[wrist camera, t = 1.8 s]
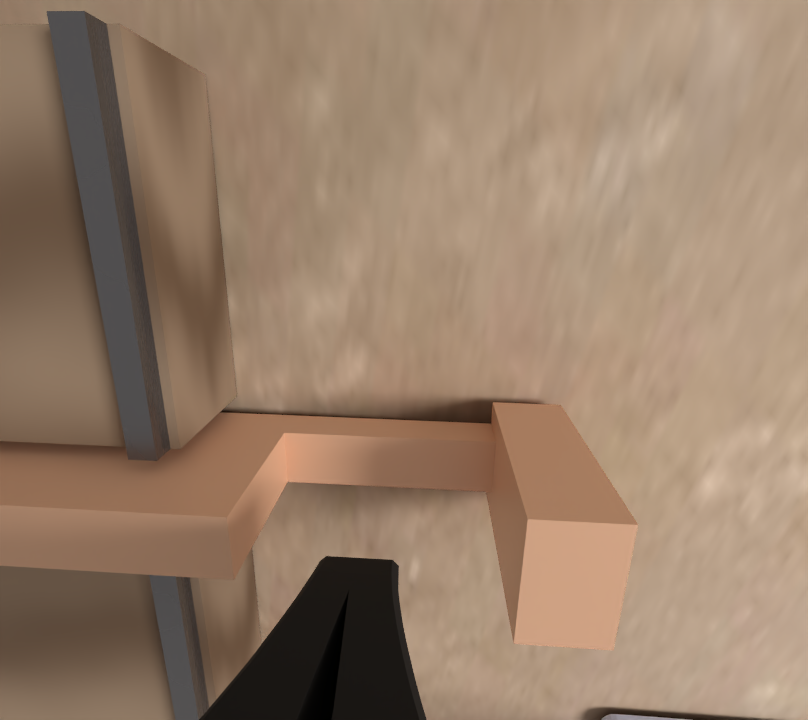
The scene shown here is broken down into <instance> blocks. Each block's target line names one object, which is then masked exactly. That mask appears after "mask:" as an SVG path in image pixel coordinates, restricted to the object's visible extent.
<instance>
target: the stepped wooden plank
mask: <svg viewBox="0 0 808 720" xmlns="http://www.w3.org/2000/svg"><path fill="white" fill-rule="evenodd" d="M287 482H302V483H322V484H342V485H362V486H382V487H402V488H423V489H443V490H463V491H483V492H486V494H487V499H488V505H489V510H490V516H491V521H492V527H493V532H494V538H495V543H496V549H497V554H498V560H499V565H500V571H501V576H502V582H503V587H504V593H505V598H506V604H507V609H508V615H509V620H510V626H511V631H512V637H513V642H514V644H526V645H541V646H556V647H571V648H586V649H601V650H614V645H615V640H616V635H617V630H618V625H619V620H620V615H621V610H622V605H623V600H624V595H625V590H626V585H627V580H628V575H629V569H630V564H631V559H632V554H633V549H634V544H635V539H636V534H637V529H638V524H637V522H636V521H635V519H634V518H633V516H632V515H631V513H630V511H629V510H628V508H627V507H626V505H625V504H624V502H623V501H622V499H621V497H620V496H619V494H618V493H617V491H616V490H615V488H614V487H613V485H612V484H611V482H610V480H609V479H608V477H607V476H606V474H605V473H604V471H603V470H602V468H601V467H600V465H599V463H598V462H597V460H596V459H595V457H594V456H593V454H592V453H591V451H590V449H589V448H588V446H587V445H586V443H585V442H584V440H583V439H582V437H581V436H580V434H579V432H578V431H577V429H576V428H575V426H574V425H573V423H572V422H571V420H570V419H569V417H568V415H567V414H566V412H565V411H564V409H563V408H562V406H561V405H549V404H524V403H498V402H493V405H492V417H491V424H487V423H463V422H439V421H415V420H391V419H367V418H343V417H319V416H295V415H271V414H247V413H223V412H220V413H219V414H217V415H216V416H215V417H214V418H213V419H212V420H211V421H210V422H209V423H208V424H207V425H206V426H205V427H204V428H203V429H201V430H200V431H199V432H198V433H197V434H196V435H195V436H194V437H193V438H192V439H191V440H190V441H189V442H188V443H187V444H185V445H184V446H183V447H182V448H181V449H170V450H169V451H168V452H166V453H165V454H164V455H163V456H162V457H161V458H160V459H159V460H158V461H144V460H128V456H127V450H126V447H120V446H98V445H77V444H55V443H33V442H12V441H0V566H14V567H30V568H46V569H62V570H79V571H95V572H111V573H127V574H144V575H160V576H176V577H192V578H208V579H225V580H234V579H235V577H236V576H237V574H238V572H239V570H240V568H241V566H242V565H243V563H244V561H245V559H246V557H247V555H248V554H249V552H250V550H251V548H252V546H253V544H254V543H255V541H256V539H257V537H258V535H259V533H260V532H261V530H262V528H263V526H264V524H265V522H266V521H267V519H268V517H269V515H270V513H271V511H272V510H273V508H274V506H275V504H276V502H277V500H278V498H279V497H280V495H281V493H282V491H283V489H284V487H285V486H286V484H287Z"/></svg>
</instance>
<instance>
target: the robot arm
mask: <svg viewBox="0 0 808 720" xmlns="http://www.w3.org/2000/svg"><path fill="white" fill-rule="evenodd" d="M398 570H399V566H398V565H397V564H396V563H395V562H394V561H393V560H383V559H366V558H348V557H330V556H326V557H325V558H324V559H322V560H321V561H320V562H319V564H318V566H317V567H316V569H315V570H314V572H313V573H312V575H311V577H310V578H309V580H308V581H307V583H306V584H305V586H304V587H303V588H302V590H301V591H300V593H299V594H298V596H297V597H296V599H295V600H294V601H293V603H292V604H291V606H290V607H289V608H288V610H287V611H286V613H285V614H284V615H283V617H282V618H281V619H280V621H279V622H278V623H277V625H276V626H275V627H274V629H273V630H272V631H271V633H270V634H269V635H268V636H267V638H266V639H265V640H264V642H263V643H262V644H261V646H260V647H259V648H258V650H257V651H256V652H255V653H254V655H253V656H252V657H251V659H250V660H249V661H248V662H247V664H246V665H245V666H244V667H243V668H242V670H241V671H240V672H239V673H238V674H237V676H236V677H235V678H234V679H233V680H232V681H231V683H230V684H229V685H228V686H227V687H226V689H225V690H224V691H223V692H222V693H221V695H220V696H219V697H218V698H217V699H216V700H215V702H214V703H213V704H212V705H211V706H210V708H209V709H208V710H207V711H206V712H205V713H204V715H203V716H202V717H201V718H200V719H199V720H426V717H425V713H424V710H423V706H422V703H421V699H420V696H419V692H418V688H417V685H416V681H415V677H414V673H413V669H412V664H411V660H410V656H409V652H408V647H407V643H406V638H405V633H404V628H403V623H402V616H401V610H400V603H399V594H398ZM601 720H691V719H678V718H664V717H651V716H637V715H624V714H609V715H606V716H605V717H603V718H602V719H601Z"/></svg>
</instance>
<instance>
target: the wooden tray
mask: <svg viewBox="0 0 808 720" xmlns="http://www.w3.org/2000/svg"><path fill="white" fill-rule="evenodd" d="M47 16H48V22H49V24H0V441H12V442H33V443H55V444H77V445H98V446H120V447H126V450H127V456H128V460H144V461H158V460H159V459H160V458H161V457H162V456H163V455H164V454H165V453H166V452H168V451H169V450H170V449H181V448H182V447H183V446H184V445H185V444H187V443H188V442H189V441H190V440H191V439H192V438H193V437H194V436H195V435H196V434H197V433H198V432H199V431H200V430H201V429H203V428H204V427H205V426H206V425H207V424H208V423H209V422H210V421H211V420H212V419H213V418H214V417H215V416H216V415H217V414H219V413H220V412H221V411H222V410H223V409H224V408H225V407H226V406H227V405H228V404H229V403H230V402H231V401H232V400H234V399H235V398H236V397H237V391H236V381H235V371H234V361H233V350H232V340H231V330H230V320H229V310H228V300H227V290H226V279H225V269H224V259H223V249H222V239H221V229H220V218H219V208H218V198H217V188H216V178H215V168H214V158H213V147H212V137H211V127H210V117H209V107H208V97H207V86H206V76H205V74H203V73H202V72H200V71H198V70H197V69H195V68H193V67H192V66H190V65H188V64H186V63H185V62H183V61H181V60H180V59H178V58H176V57H175V56H173V55H171V54H170V53H168V52H166V51H164V50H163V49H161V48H159V47H158V46H156V45H154V44H153V43H151V42H149V41H148V40H146V39H144V38H142V37H141V36H139V35H137V34H136V33H134V32H132V31H131V30H129V29H127V28H126V27H124V26H122V25H121V24H106V23H104V22H102V21H101V20H99V19H97V18H95V17H94V16H92V15H90V14H88V13H87V12H85V11H47ZM260 646H261V635H260V625H259V614H258V604H257V594H256V584H255V574H254V564H253V554H252V548H251V550H250V552H249V554H248V555H247V557H246V559H245V561H244V563H243V565H242V566H241V568H240V570H239V572H238V574H237V576H236V577H235V579H234V580H225V579H208V578H192V577H176V576H160V575H144V574H127V573H111V572H95V571H79V570H62V569H46V568H30V567H14V566H0V720H199V719H200V718H201V717H202V716H203V715H204V713H205V712H206V711H207V710H208V709H209V708H210V706H211V705H212V704H213V703H214V702H215V700H216V699H217V698H218V697H219V696H220V695H221V693H222V692H223V691H224V690H225V689H226V687H227V686H228V685H229V684H230V683H231V681H232V680H233V679H234V678H235V677H236V676H237V674H238V673H239V672H240V671H241V670H242V668H243V667H244V666H245V665H246V664H247V662H248V661H249V660H250V659H251V657H252V656H253V655H254V653H255V652H256V651H257V650H258V648H259V647H260Z"/></svg>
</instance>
